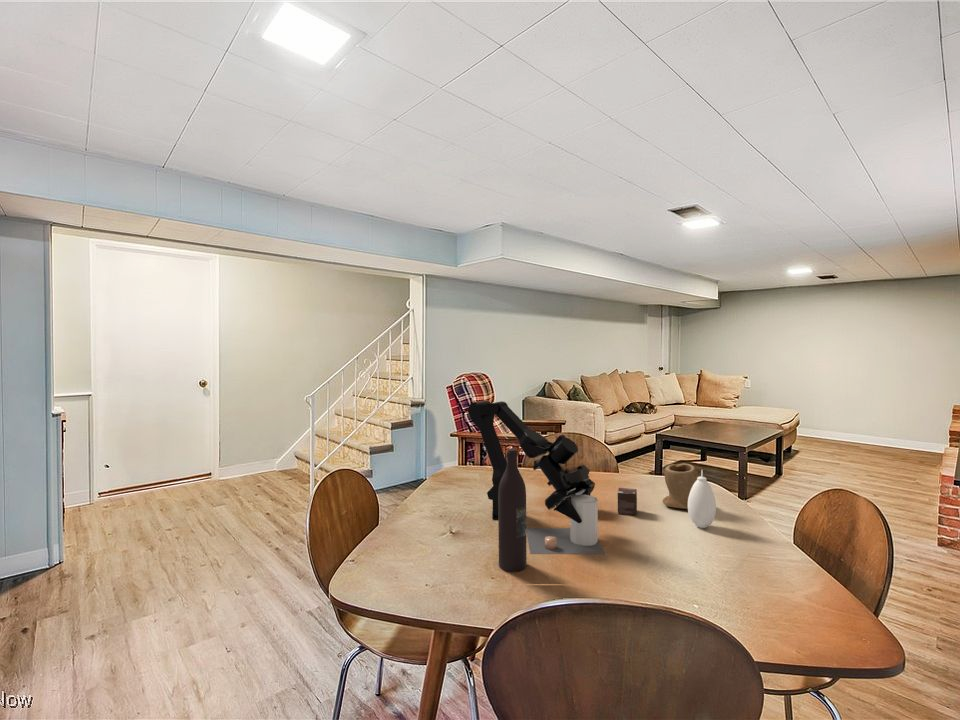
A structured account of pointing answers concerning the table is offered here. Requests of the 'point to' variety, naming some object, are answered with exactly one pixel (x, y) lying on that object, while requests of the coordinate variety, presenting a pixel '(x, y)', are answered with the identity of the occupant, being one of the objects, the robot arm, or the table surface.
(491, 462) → the robot arm
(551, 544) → the pinkish tan round piece
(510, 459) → the wine bottle
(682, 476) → the stone cup
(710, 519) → the white air blower bulb
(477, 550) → the table surface
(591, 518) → the cover cup
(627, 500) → the box
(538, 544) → the mat
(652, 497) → the table surface
